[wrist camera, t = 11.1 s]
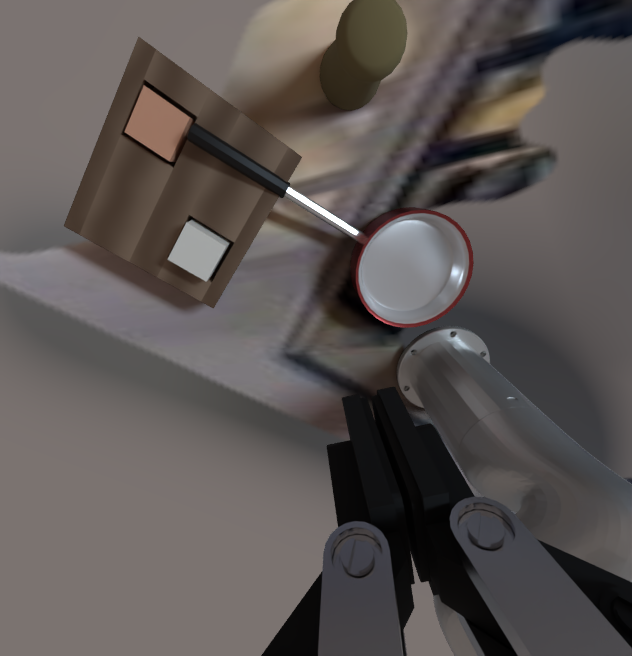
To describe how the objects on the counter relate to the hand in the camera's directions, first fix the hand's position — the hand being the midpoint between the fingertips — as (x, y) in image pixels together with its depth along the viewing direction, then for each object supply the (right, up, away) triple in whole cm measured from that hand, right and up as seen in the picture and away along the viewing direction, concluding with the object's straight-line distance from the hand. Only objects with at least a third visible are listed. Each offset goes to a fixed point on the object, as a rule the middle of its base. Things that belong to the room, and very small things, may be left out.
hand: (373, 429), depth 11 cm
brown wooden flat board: (-15, +18, +26) cm, 35 cm away
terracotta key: (-16, +22, +22) cm, 35 cm away
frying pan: (0, +15, +29) cm, 33 cm away
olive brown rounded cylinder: (+2, +28, +23) cm, 37 cm away
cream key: (-14, +12, +26) cm, 32 cm away
